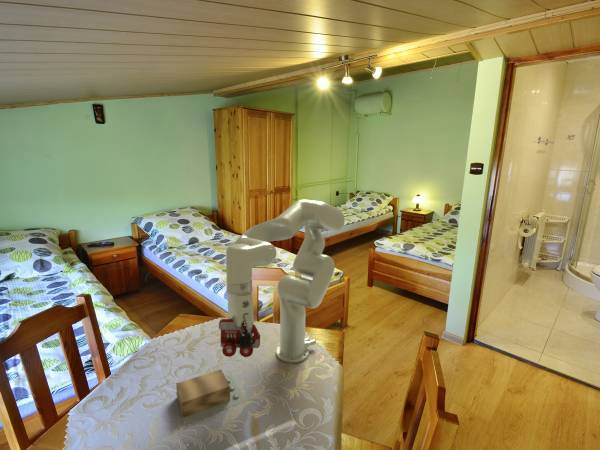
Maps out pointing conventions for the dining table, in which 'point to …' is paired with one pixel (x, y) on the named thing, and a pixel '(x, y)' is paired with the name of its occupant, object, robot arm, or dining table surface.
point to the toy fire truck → (236, 338)
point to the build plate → (234, 400)
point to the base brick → (202, 392)
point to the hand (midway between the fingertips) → (239, 338)
